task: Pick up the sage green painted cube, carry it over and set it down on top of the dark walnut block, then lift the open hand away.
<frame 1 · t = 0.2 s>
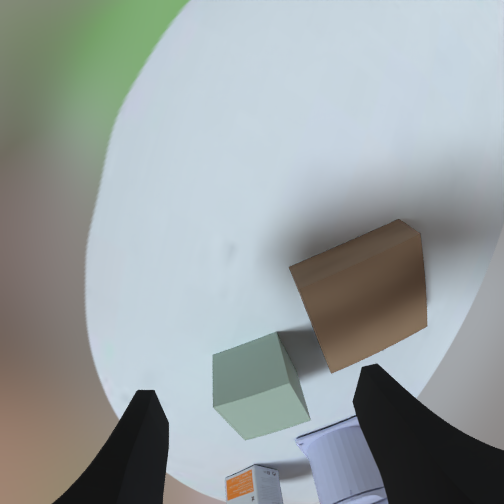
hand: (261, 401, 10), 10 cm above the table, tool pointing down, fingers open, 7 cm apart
walnut block: (357, 287, 21), on the table
skincare box: (250, 473, 32), on the table
sage cube: (256, 364, 22), on the table
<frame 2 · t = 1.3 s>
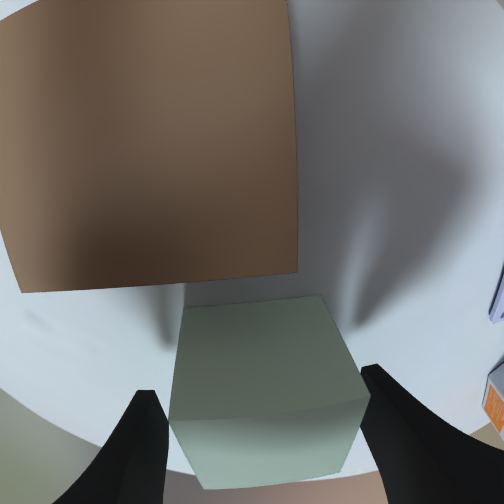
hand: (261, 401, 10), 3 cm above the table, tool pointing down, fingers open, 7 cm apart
walnut block: (142, 121, 8), on the table
skincare box: (499, 377, 17), on the table
sage cube: (255, 351, 12), on the table
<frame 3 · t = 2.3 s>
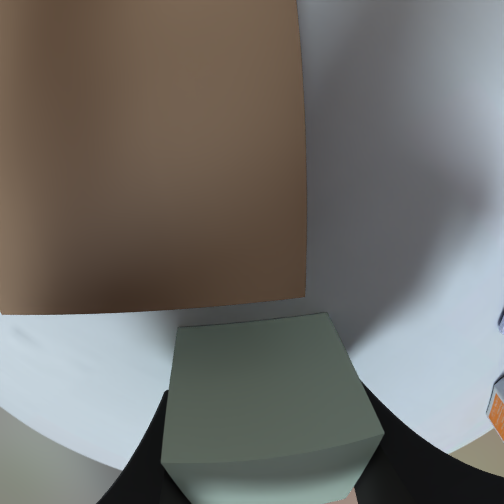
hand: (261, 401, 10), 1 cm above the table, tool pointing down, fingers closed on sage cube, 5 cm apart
walnut block: (129, 123, 7), on the table
sage cube: (256, 372, 11), on the table, touching gripper
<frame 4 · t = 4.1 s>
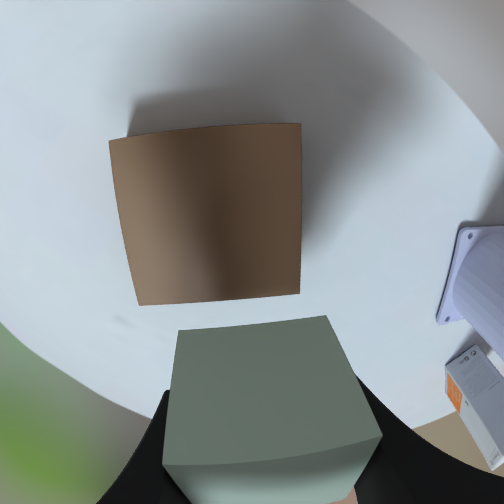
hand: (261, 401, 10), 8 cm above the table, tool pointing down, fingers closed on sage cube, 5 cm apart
walnut block: (211, 203, 16), on the table
skincare box: (458, 368, 25), on the table
sage cube: (256, 374, 11), point 7 cm above the table, touching gripper
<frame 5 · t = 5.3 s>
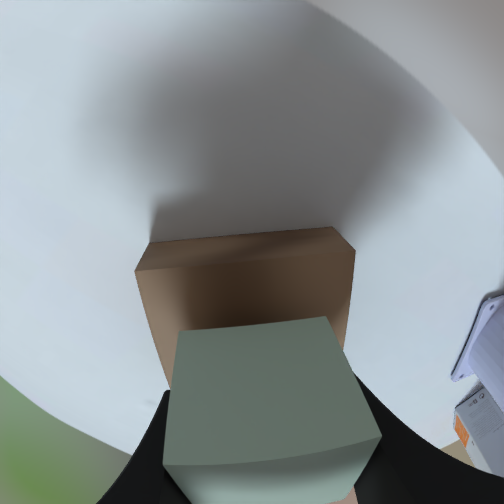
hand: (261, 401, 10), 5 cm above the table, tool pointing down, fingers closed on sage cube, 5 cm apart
walnut block: (247, 307, 15), on the table
skincare box: (466, 407, 24), on the table
sage cube: (256, 375, 11), point 4 cm above the table, touching gripper
when the fingers open (5 cm above the table, at t = 6.0 s): sage cube drops 1 cm, resting on walnut block.
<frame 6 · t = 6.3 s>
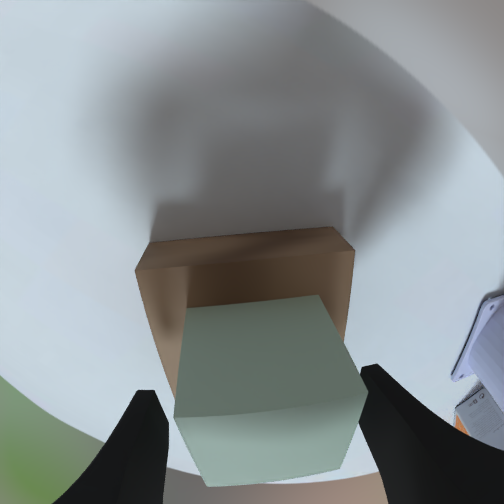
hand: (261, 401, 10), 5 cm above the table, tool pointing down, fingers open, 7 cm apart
walnut block: (246, 306, 15), on the table, touching sage cube
skincare box: (466, 407, 24), on the table
sage cube: (256, 351, 12), point 3 cm above the table, touching walnut block
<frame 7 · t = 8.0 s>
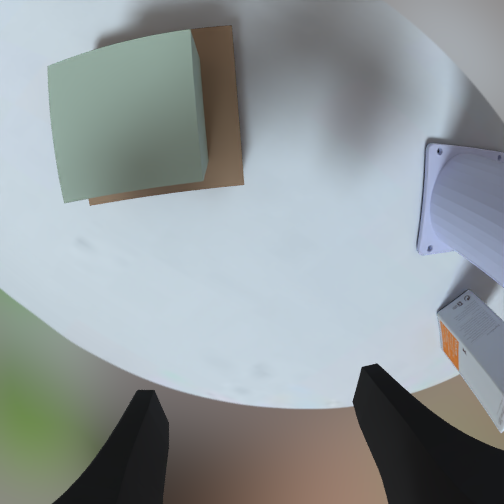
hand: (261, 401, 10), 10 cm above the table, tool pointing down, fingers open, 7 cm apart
walnut block: (163, 114, 15), on the table, touching sage cube
skincare box: (453, 319, 24), on the table
sage cube: (150, 116, 13), point 3 cm above the table, touching walnut block
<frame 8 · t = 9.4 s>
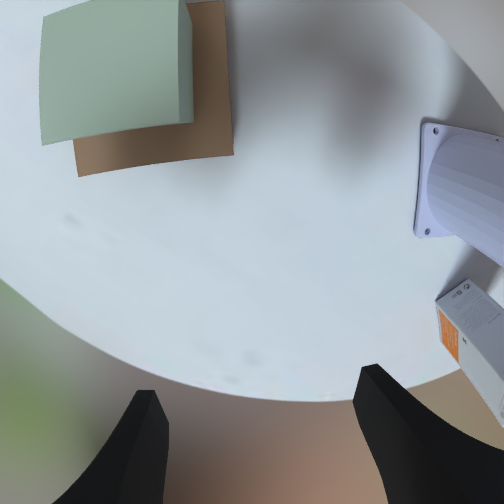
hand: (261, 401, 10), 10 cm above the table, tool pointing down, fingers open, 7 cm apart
walnut block: (155, 89, 15), on the table, touching sage cube
skincare box: (452, 310, 23), on the table
sage cube: (140, 77, 12), point 3 cm above the table, touching walnut block
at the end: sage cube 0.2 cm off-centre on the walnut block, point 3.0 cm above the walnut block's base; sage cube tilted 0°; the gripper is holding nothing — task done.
